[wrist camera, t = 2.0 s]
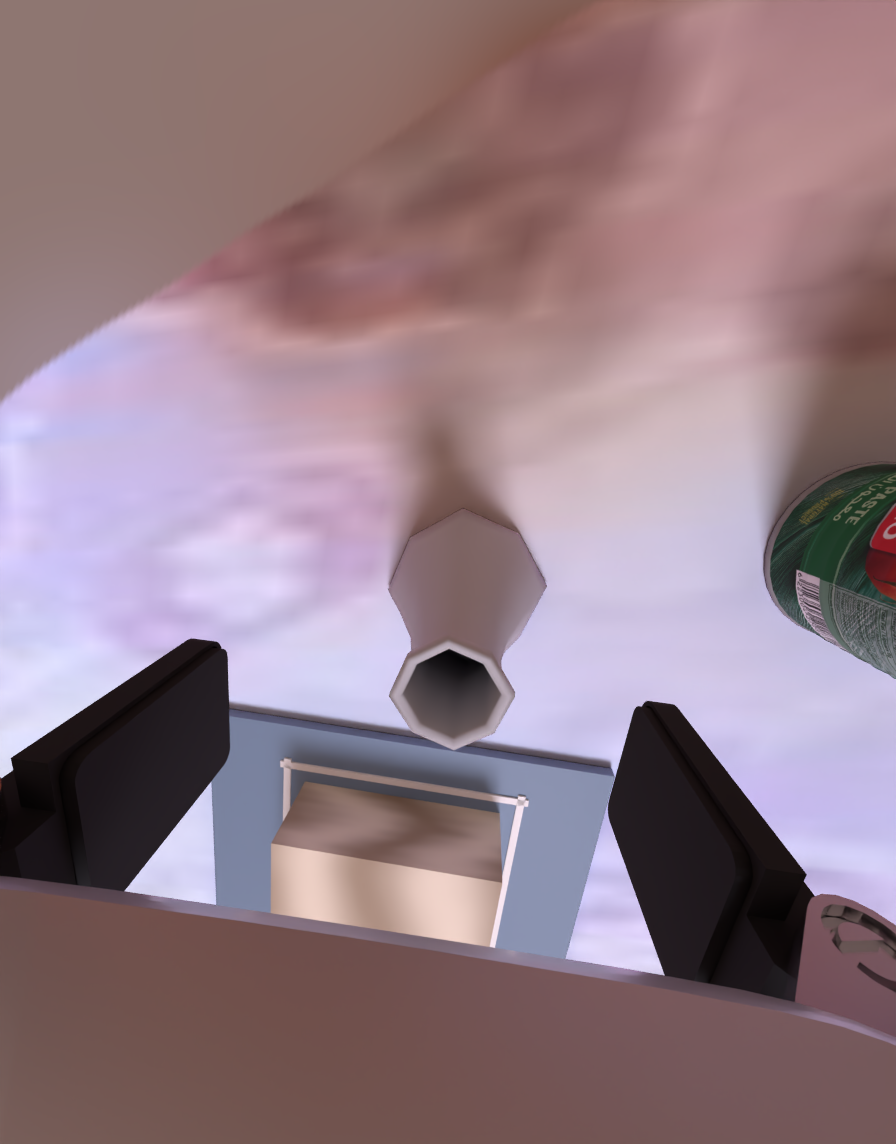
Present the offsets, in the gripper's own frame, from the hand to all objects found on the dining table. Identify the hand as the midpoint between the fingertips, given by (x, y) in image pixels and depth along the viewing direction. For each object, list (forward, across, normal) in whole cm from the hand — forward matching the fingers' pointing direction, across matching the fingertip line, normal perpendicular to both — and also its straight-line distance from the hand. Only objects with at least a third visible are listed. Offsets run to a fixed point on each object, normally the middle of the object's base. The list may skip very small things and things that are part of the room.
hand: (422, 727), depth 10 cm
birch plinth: (+12, +1, +18) cm, 22 cm away
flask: (+12, -1, 0) cm, 12 cm away
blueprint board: (+12, +1, +18) cm, 22 cm away
